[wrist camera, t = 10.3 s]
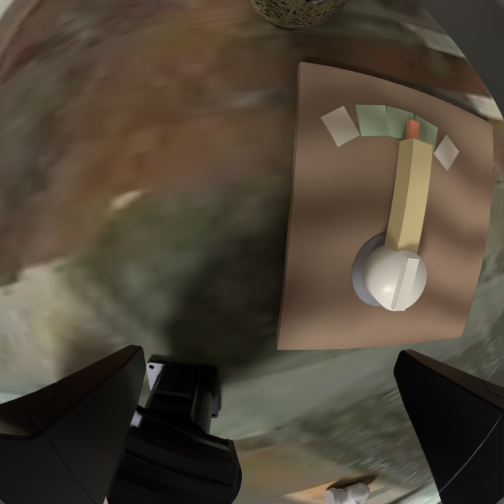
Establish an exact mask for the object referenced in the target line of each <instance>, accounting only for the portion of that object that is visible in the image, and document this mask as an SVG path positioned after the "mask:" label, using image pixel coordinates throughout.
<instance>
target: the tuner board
mask: <svg viewBox="0 0 504 504" xmlns="http://www.w3.org/2000/svg"><path fill="white" fill-rule="evenodd" d="M408 120H413V121H416V122H418V123H419V137H418V140H420V141H422V142H425V143H428V144H430V145H433V149H432V162H431V172H430V181H429V188H428V196H427V203H426V209H425V215H424V221H423V226H422V231H421V236H420V241H419V246H418V250H417V255H418V256H420V257H421V259H422V260H423V261H424V263H425V266H426V271H427V279H426V284H425V287H424V290H423V292H422V294H421V295H420V297H419V298H418V299H417V301H416V302H415V303H414V304H412V305H411V306H410V307H408V308H406V309H405V311H391V310H388V309H386V308H385V307H383V306H382V305H381V304H380V303H379V302H378V301H377V300H376V299H375V298H374V297H373V296H372V295H371V294H370V293H369V292H368V291H367V290H366V289H365V287H364V284H363V281H362V270H363V266H364V263H365V261H366V259H367V258H368V256H369V255H370V254H371V252H372V251H374V250H375V249H376V248H377V247H379V246H381V245H384V244H385V239H386V234H387V229H388V224H389V218H390V212H391V206H392V200H393V193H394V186H395V179H396V171H397V162H398V152H399V141H402V140H406V129H407V121H408ZM492 184H493V127H492V124H491V123H489V122H487V121H485V120H483V119H481V118H479V117H477V116H475V115H473V114H471V113H469V112H467V111H465V110H463V109H461V108H459V107H457V106H454V105H452V104H450V103H448V102H445V101H443V100H440V99H438V98H435V97H433V96H430V95H428V94H425V93H423V92H420V91H417V90H414V89H411V88H409V87H406V86H403V85H400V84H396V83H393V82H390V81H387V80H383V79H380V78H376V77H373V76H369V75H365V74H361V73H357V72H353V71H349V70H344V69H339V68H335V67H330V66H324V65H319V64H313V63H306V62H300V63H299V65H298V67H297V94H296V115H295V134H294V151H293V166H292V181H291V194H290V207H289V219H288V231H287V242H286V253H285V263H284V274H283V283H282V293H281V302H280V311H279V320H278V329H277V337H276V345H277V350H320V349H348V348H366V347H380V346H391V345H402V344H411V343H420V342H428V341H436V340H443V339H449V338H456V337H461V335H462V332H463V330H464V327H465V324H466V321H467V318H468V315H469V311H470V308H471V305H472V301H473V298H474V294H475V290H476V287H477V283H478V279H479V274H480V270H481V265H482V261H483V256H484V250H485V245H486V239H487V233H488V226H489V218H490V209H491V199H492Z"/></svg>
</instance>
